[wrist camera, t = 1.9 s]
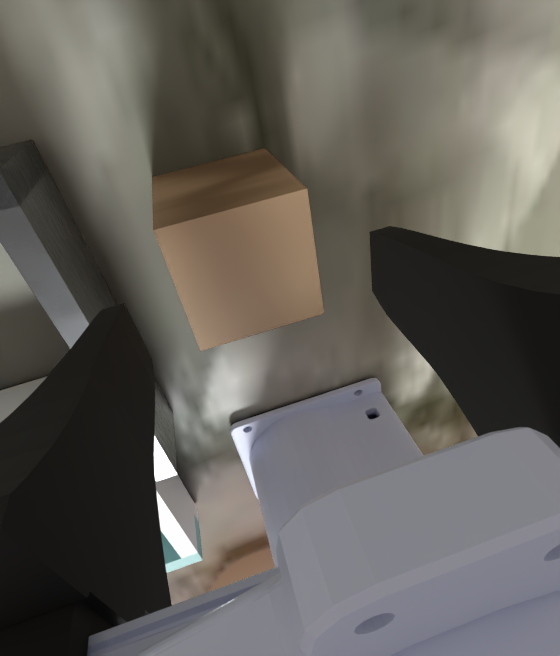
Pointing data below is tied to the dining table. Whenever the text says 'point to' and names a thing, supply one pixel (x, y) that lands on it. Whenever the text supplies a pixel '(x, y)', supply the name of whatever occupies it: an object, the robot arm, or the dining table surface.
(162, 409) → the dock
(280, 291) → the walnut block
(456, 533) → the robot arm
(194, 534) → the tray
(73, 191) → the dining table surface
